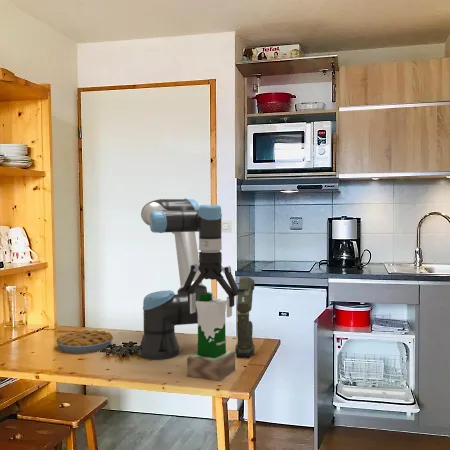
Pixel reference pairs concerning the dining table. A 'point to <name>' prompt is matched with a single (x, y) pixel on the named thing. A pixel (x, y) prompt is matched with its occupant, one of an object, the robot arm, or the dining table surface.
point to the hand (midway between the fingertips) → (210, 314)
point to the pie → (84, 341)
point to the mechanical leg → (244, 319)
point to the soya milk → (211, 326)
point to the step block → (211, 366)
